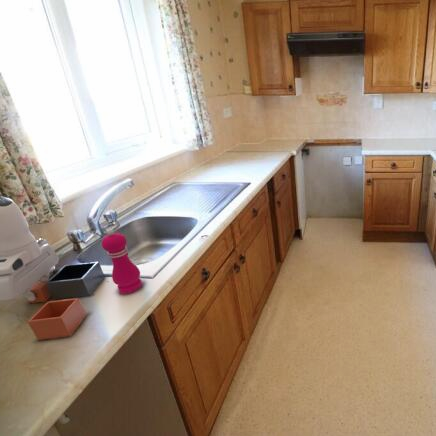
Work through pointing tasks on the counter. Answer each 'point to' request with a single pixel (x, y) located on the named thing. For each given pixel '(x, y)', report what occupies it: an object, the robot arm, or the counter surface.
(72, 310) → the terracotta bin
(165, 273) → the counter surface
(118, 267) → the pepper mill
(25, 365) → the counter surface
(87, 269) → the grey bin
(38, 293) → the terracotta block
